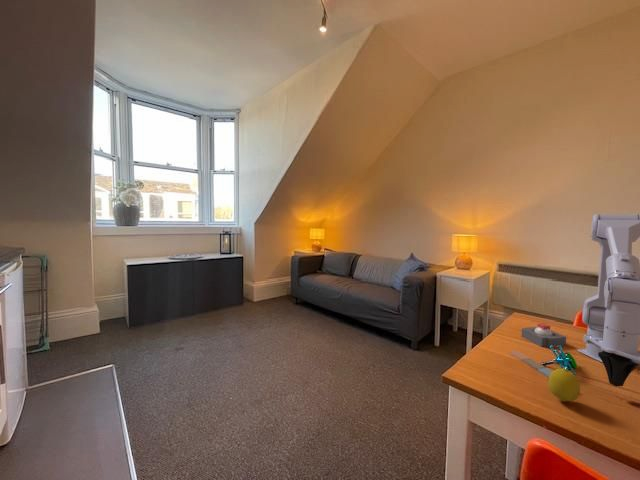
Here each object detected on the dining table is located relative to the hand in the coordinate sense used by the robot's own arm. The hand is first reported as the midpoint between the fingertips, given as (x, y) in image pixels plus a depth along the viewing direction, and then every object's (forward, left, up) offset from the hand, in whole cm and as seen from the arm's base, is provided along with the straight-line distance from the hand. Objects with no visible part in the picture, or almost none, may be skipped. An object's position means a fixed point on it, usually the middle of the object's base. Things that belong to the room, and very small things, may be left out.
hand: (616, 384), depth 66 cm
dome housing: (-10, -29, -3) cm, 31 cm away
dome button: (-10, -29, -3) cm, 31 cm away
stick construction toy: (+1, -13, -4) cm, 14 cm away
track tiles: (+7, -15, -3) cm, 17 cm away
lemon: (+14, 0, -3) cm, 14 cm away
